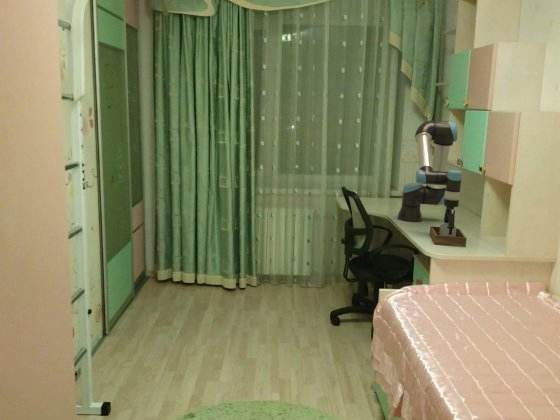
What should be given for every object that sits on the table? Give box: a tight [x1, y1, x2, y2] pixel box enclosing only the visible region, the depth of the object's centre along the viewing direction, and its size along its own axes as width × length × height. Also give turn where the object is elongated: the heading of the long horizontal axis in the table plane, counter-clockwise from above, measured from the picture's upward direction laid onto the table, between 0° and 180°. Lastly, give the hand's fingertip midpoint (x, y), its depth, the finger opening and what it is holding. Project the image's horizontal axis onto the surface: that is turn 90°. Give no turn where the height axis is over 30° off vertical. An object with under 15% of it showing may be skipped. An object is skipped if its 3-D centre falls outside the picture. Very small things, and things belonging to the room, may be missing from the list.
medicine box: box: [439, 223, 457, 237], centre depth 291 cm, size 8×4×9 cm, turn 35°
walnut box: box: [429, 226, 468, 248], centre depth 292 cm, size 22×16×5 cm
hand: (447, 237), depth 292 cm, fingers open, 13 cm apart
